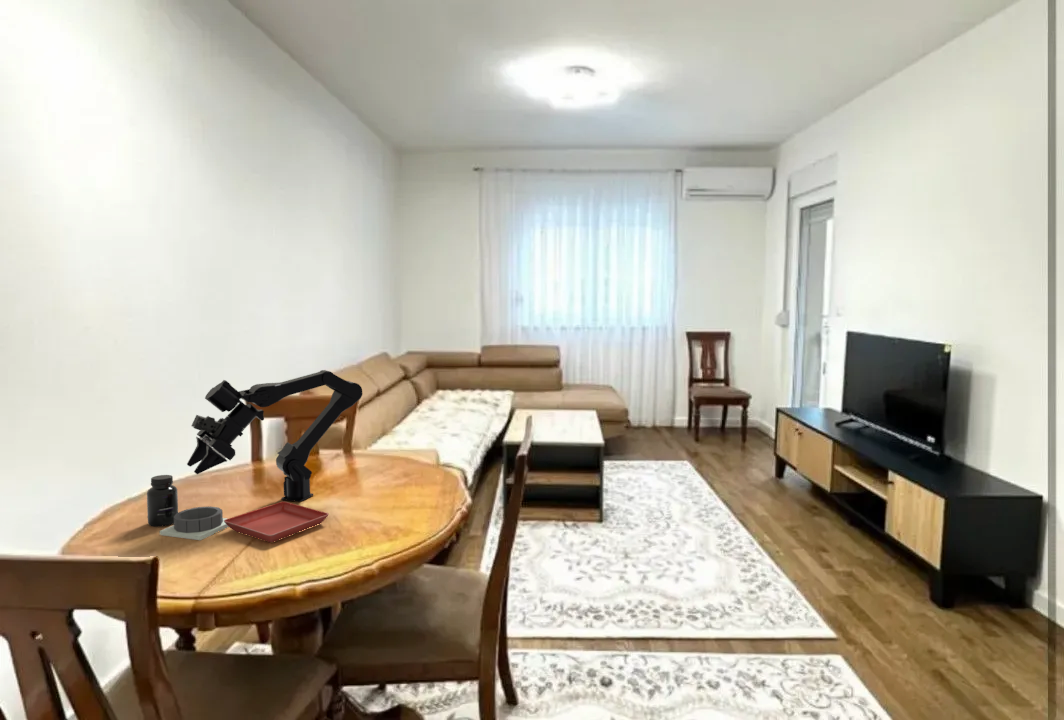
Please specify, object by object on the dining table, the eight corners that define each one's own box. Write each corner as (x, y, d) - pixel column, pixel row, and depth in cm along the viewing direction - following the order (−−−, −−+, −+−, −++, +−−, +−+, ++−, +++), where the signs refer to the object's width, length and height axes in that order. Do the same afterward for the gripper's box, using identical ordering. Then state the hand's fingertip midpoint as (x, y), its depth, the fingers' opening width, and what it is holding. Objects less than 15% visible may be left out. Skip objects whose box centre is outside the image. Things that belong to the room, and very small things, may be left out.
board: (236, 523, 166) (236, 519, 166) (200, 540, 154) (200, 536, 154) (197, 518, 169) (197, 514, 169) (159, 534, 158) (159, 530, 158)
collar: (231, 520, 165) (231, 508, 165) (200, 534, 155) (199, 522, 155) (197, 516, 168) (197, 504, 168) (164, 530, 158) (164, 518, 158)
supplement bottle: (165, 528, 162) (162, 481, 161) (141, 526, 163) (139, 480, 162) (184, 519, 169) (182, 474, 167) (162, 517, 170) (159, 472, 169)
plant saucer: (330, 525, 166) (330, 512, 166) (270, 548, 151) (270, 534, 150) (283, 512, 175) (283, 500, 175) (222, 533, 160) (221, 520, 160)
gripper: (203, 399, 178) (160, 444, 172) (220, 408, 163) (172, 458, 158) (235, 424, 184) (194, 468, 178) (253, 435, 169) (209, 484, 163)
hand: (191, 469), depth 169 cm, fingers open, 9 cm apart
